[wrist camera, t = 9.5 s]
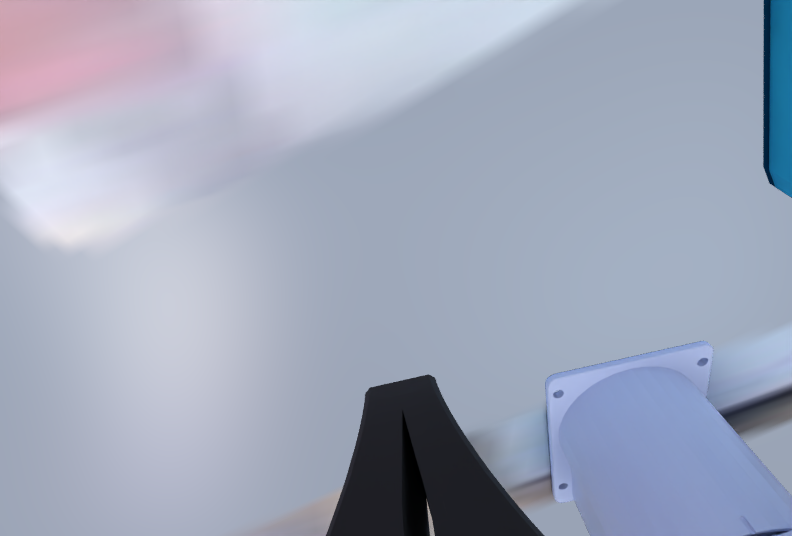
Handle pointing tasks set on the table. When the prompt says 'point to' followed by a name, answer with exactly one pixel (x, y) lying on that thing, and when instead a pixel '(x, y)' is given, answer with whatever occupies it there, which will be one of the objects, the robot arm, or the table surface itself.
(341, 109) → the table surface
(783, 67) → the ice cube tray
